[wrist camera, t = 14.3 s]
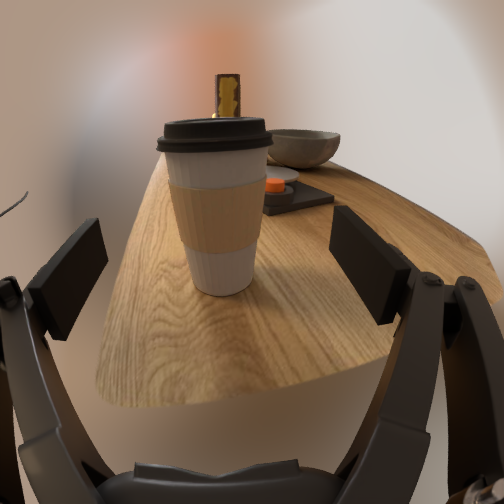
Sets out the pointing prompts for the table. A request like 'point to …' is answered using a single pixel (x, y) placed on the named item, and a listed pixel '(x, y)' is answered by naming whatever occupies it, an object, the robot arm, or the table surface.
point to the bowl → (303, 147)
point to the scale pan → (282, 173)
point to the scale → (294, 198)
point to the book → (227, 95)
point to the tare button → (275, 185)
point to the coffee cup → (218, 196)
